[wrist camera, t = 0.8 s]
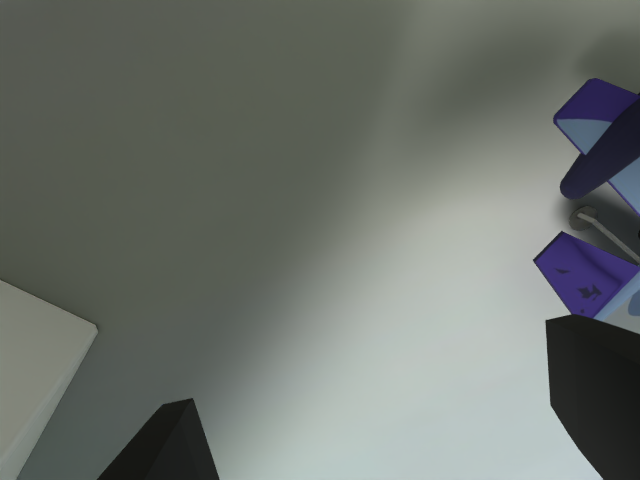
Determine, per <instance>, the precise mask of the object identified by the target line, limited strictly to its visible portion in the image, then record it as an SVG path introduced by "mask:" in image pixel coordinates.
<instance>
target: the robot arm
mask: <svg viewBox="0 0 640 480" xmlns="http://www.w3.org/2000/svg"><path fill="white" fill-rule="evenodd" d="M545 321H546V338H547V354H548V371H549V387H550V404H551V407H552V408H553V410H554V411H555V413H556V415H557V416H558V418H559V420H560V421H561V423H562V424H563V426H564V428H565V429H566V431H567V432H568V434H569V435H570V437H571V438H572V440H573V441H574V443H575V444H576V446H577V447H578V449H579V450H580V451H581V453H582V454H583V455H584V456H585V458H586V459H587V460H588V461H589V462H590V464H591V465H592V466H593V467H594V468H595V470H596V471H597V472H598V473H599V474H600V476H601V477H602V478H603V479H604V480H640V334H638V333H635V332H633V331H630V330H627V329H624V328H621V327H618V326H615V325H612V324H609V323H606V322H603V321H599V320H596V319H593V318H589V317H586V316H582V315H578V314H572V315H567V316H563V317H558V318H554V319H549V320H545ZM97 480H219V476H218V473H217V470H216V467H215V464H214V461H213V458H212V455H211V452H210V449H209V446H208V443H207V439H206V436H205V433H204V430H203V427H202V424H201V421H200V418H199V415H198V412H197V409H196V406H195V403H194V400H193V398H190V399H186V400H181V401H177V402H172V403H168V404H163V405H162V406H161V407H160V408H159V409H158V410H157V411H156V412H155V413H154V414H153V415H152V417H151V418H150V419H149V420H148V421H147V422H146V423H145V425H144V426H143V427H142V428H141V429H140V430H139V432H138V433H137V434H136V435H135V436H134V437H133V439H132V440H131V441H130V442H129V443H128V444H127V446H126V447H125V448H124V449H123V450H122V451H121V452H120V454H119V455H118V456H117V457H116V458H115V459H114V460H113V462H112V463H111V464H110V465H109V466H108V467H107V468H106V470H105V471H104V472H103V473H102V474H101V475H100V476H99V478H98V479H97Z"/></svg>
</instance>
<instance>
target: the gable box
mask: <svg viewBox="0 0 640 480" xmlns="http://www.w3.org/2000/svg"><path fill="white" fill-rule="evenodd" d="M97 334H98V330H97V328H96V325H95V324H92V323H90V322H88V321H86V320H84V319H82V318H80V317H78V316H76V315H73V314H71V313H69V312H67V311H65V310H63V309H61V308H59V307H56V306H54V305H52V304H50V303H48V302H46V301H44V300H42V299H40V298H37V297H35V296H33V295H31V294H29V293H27V292H25V291H23V290H21V289H18V288H16V287H14V286H12V285H10V284H8V283H6V282H4V281H2V280H0V480H16V479H17V477H18V475H19V473H20V472H21V470H22V468H23V466H24V464H25V463H26V461H27V459H28V457H29V455H30V454H31V452H32V450H33V448H34V446H35V445H36V443H37V441H38V439H39V437H40V436H41V434H42V432H43V430H44V429H45V427H46V425H47V423H48V421H49V420H50V418H51V416H52V414H53V412H54V411H55V409H56V407H57V405H58V403H59V402H60V400H61V398H62V396H63V394H64V393H65V391H66V389H67V387H68V386H69V384H70V382H71V380H72V378H73V377H74V375H75V373H76V371H77V369H78V368H79V366H80V364H81V362H82V360H83V359H84V357H85V355H86V353H87V351H88V350H89V348H90V346H91V344H92V343H93V341H94V339H95V337H96V335H97Z"/></svg>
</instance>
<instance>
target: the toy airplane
mask: <svg viewBox="0 0 640 480" xmlns="http://www.w3.org/2000/svg"><path fill="white" fill-rule="evenodd" d="M553 123H554V124H555V125H556V126H557V127H558V128H559V129H560V130H561V132H562V133H563V134H564V135H565V136H566V137H567V138H568V139H569V140H570V141H571V142H572V144H573V145H574V146H575V147H576V148H577V149H578V150H579V151H580V152H581V154H580V155H579V156H578V158H577V159H576V161H575V162H574V163H573V165H572V166H571V168H570V169H569V171H568V172H567V174H566V175H565V177H564V178H563V179H562V181H561V184H560V190H561V193H562V194H563V195H564V196H565V197H566V198H568V199H579V198H581V197H583V196H584V195H586V194H588V193H589V192H591V191H592V190H594V189H595V188H597V187H599V186H600V185H602V184H603V183H605V182H606V181H607V182H608V183H609V184H610V185H611V186H612V187H613V188H614V189H615V191H616V192H617V193H618V194H619V195H620V196H621V197H622V198H623V199H624V200H625V202H626V203H627V204H628V205H629V206H630V207H631V208H632V209H633V210H634V211H635V212H636V214H637V215H638V216H639V217H640V93H639V94H638V95H637V94H634V93H632V92H629V91H627V90H625V89H622V88H620V87H617V86H615V85H612V84H610V83H608V82H605V81H603V80H600V79H598V78H593V79H589V80H588V81H587V82H586V83H585V84H584V85H583V86H582V87H581V88H580V89H579V90H578V91H577V92H576V93H575V94H574V95H573V96H572V97H571V98H570V99H569V100H568V101H567V102H566V103H565V105H564V106H563V107H562V108H561V109H560V110H559V111H558V112H557V113H556V114H555V115H554V118H553ZM596 219H597V211H596V209H594V208H593V207H590V206H587V207H582V208H580V209H578V210H577V211H575V212H574V213H573V214H572V215H571V217H570V219H569V225H570V227H571V228H572V229H574V230H577V231H580V230H585V229H587V228H589V227H590V226H592V224H594V225H595V226H596V227H597V228H598V229H599V230H601V231H602V232H603V233H604V234H605V235H606V236H608V237H609V238H610V239H611V240H612V241H614V242H615V243H616V244H617V245H618V246H619V247H621V248H622V249H623V250H624V251H625V252H626V253H628V254H629V255H630V256H631V257H632V258H633V259H635V260H636V261H637V262H638V263H639V265H638V266H636V265H634V264H632V263H630V262H627V261H625V260H623V259H621V258H619V257H617V256H615V255H612V254H610V253H608V252H606V251H604V250H602V249H599V248H597V247H595V246H593V245H591V244H589V243H586V242H584V241H582V240H580V239H578V238H576V237H573V236H571V235H569V234H567V233H565V232H563V231H561V232H560V233H559V234H558V235H557V236H556V237H555V238H554V239H553V240H552V241H551V242H550V243H549V244H548V245H547V246H546V247H545V248H544V249H543V250H542V251H541V252H540V253H539V254H538V255H537V256H536V257H535V258H534V259H533V261H534V263H535V264H536V266H537V267H538V268H539V270H540V271H541V273H542V274H543V275H544V277H545V278H546V279H547V281H548V282H549V284H550V285H551V286H552V288H553V289H554V291H555V292H556V293H557V295H558V296H559V298H560V299H561V300H562V302H563V303H564V304H565V306H566V307H567V309H568V310H569V311H570V313H571V314H578V315H582V316H586V317H589V318H593V319H596V320H599V321H603V322H606V323H609V324H612V325H615V326H618V327H621V328H624V329H627V330H630V331H633V332H635V333H638V334H640V257H639V256H638V255H637V254H635V253H634V252H633V251H632V250H631V249H630V248H628V247H627V246H626V245H625V244H624V243H622V242H621V241H620V240H619V239H618V238H617V237H615V236H614V235H613V234H612V233H611V232H610V231H608V230H607V229H606V228H605V227H604V226H602V225H601V224H600V223H599V222H598V221H597V220H596ZM638 237H639V239H640V231H639V233H638Z"/></svg>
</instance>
